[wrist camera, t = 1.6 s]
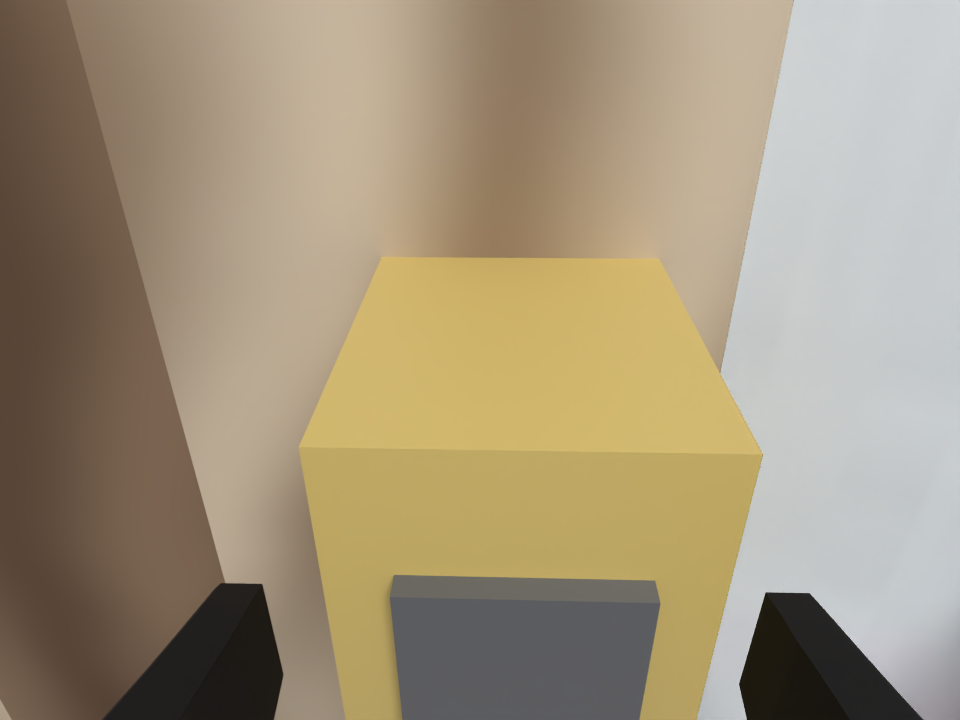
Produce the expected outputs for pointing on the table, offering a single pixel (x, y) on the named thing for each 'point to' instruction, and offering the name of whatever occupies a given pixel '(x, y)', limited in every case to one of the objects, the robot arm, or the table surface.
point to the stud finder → (525, 493)
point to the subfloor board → (298, 266)
